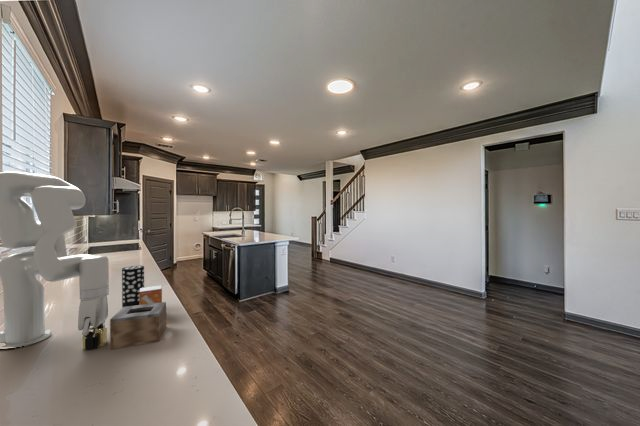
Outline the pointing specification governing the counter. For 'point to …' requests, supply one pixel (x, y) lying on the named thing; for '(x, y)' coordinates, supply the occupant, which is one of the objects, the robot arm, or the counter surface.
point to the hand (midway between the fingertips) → (95, 344)
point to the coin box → (138, 325)
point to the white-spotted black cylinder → (132, 285)
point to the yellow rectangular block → (99, 337)
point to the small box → (150, 295)
